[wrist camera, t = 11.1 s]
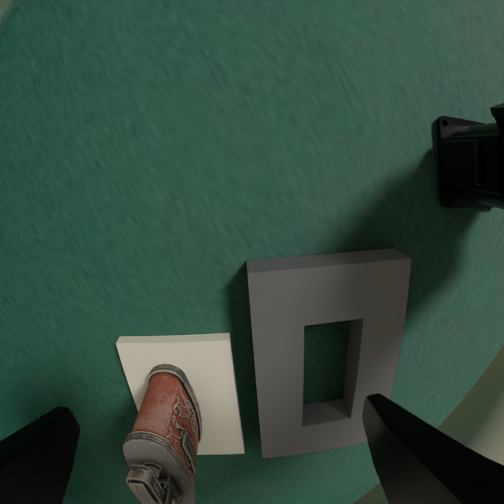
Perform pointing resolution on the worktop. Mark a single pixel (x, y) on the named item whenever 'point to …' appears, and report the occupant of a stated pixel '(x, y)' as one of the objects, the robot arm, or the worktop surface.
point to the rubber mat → (192, 381)
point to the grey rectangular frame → (319, 312)
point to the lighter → (165, 440)
